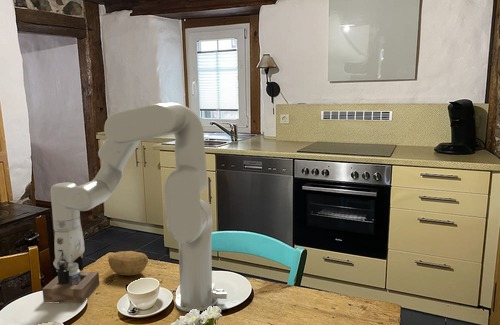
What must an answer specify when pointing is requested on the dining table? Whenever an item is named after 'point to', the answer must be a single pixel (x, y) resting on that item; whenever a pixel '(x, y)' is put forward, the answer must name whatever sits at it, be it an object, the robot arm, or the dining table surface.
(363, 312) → the dining table surface
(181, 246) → the robot arm
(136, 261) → the potato
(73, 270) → the pill bottle
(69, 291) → the socket block
